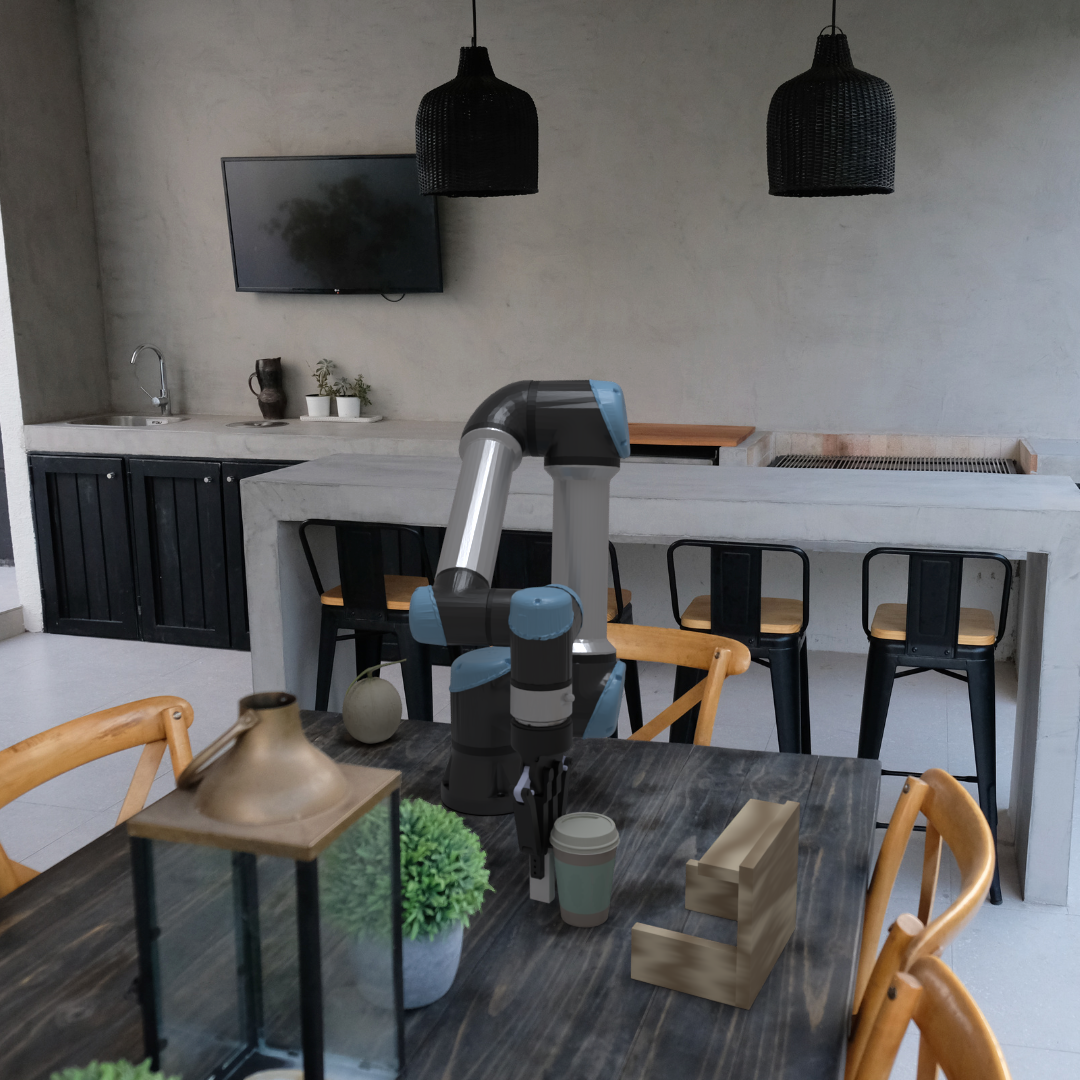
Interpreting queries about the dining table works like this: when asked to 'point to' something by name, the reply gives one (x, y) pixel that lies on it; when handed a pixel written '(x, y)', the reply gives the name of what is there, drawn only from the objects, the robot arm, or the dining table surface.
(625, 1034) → the dining table surface
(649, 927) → the nook
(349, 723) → the fruit
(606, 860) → the coffee cup
